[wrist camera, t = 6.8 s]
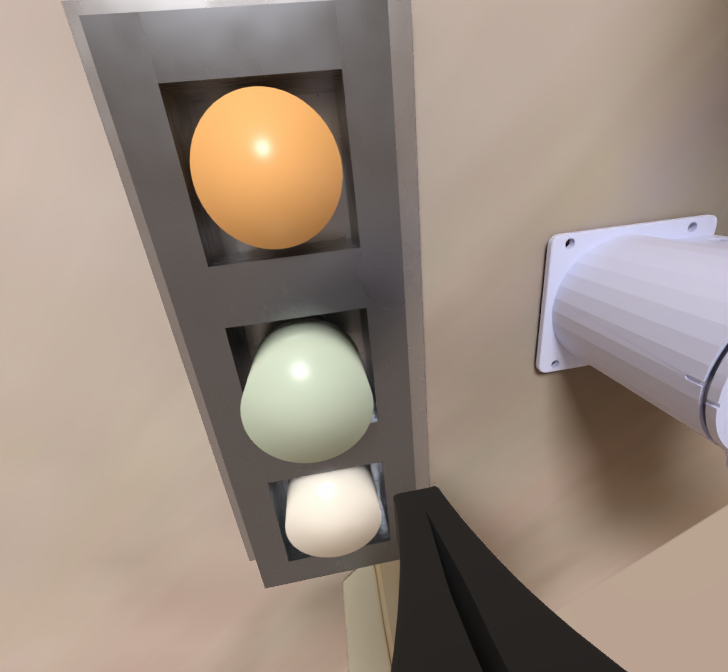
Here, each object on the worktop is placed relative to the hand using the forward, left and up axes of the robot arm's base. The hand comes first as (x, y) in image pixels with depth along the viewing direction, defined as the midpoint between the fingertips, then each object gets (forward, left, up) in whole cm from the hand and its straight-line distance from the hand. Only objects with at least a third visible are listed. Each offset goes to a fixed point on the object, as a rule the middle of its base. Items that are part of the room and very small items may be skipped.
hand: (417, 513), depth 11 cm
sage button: (+3, -2, -7) cm, 8 cm away
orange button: (+3, -10, -9) cm, 14 cm away
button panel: (+3, -2, -10) cm, 11 cm away
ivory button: (+3, +6, -9) cm, 11 cm away
